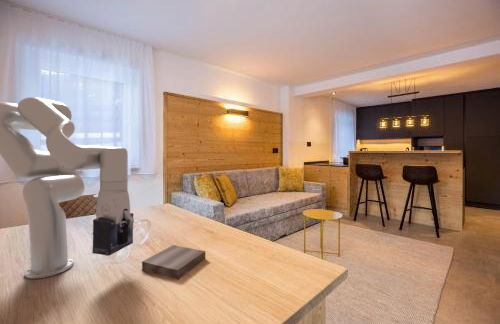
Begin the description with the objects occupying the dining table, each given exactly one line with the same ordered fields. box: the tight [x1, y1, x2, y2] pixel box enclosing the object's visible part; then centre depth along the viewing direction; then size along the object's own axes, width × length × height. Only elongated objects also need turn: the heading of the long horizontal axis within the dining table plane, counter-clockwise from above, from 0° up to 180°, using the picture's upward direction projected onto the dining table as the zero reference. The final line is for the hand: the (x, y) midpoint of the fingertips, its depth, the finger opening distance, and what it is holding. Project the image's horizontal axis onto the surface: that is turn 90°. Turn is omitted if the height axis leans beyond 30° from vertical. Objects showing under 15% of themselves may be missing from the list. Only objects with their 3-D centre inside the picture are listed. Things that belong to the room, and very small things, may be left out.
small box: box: [91, 212, 134, 257], centre depth 76 cm, size 11×6×10 cm, turn 168°
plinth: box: [141, 244, 206, 280], centre depth 83 cm, size 15×15×3 cm
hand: (114, 240), depth 76 cm, fingers closed on small box, 7 cm apart
